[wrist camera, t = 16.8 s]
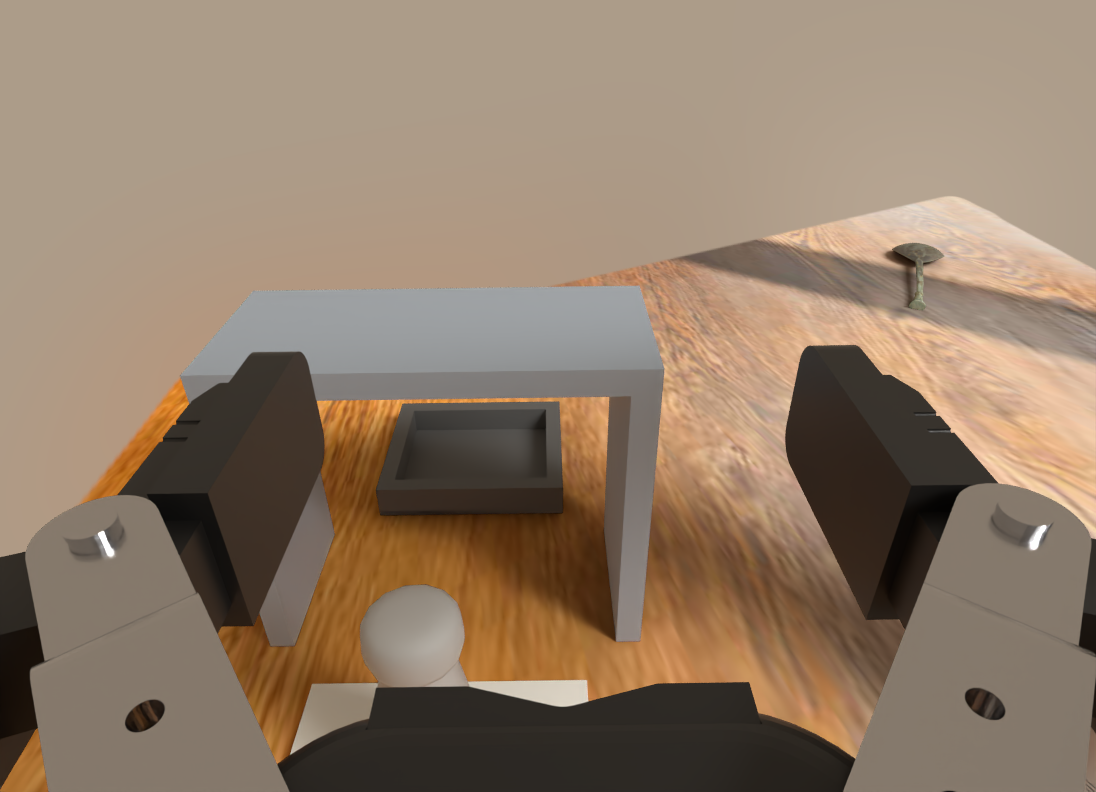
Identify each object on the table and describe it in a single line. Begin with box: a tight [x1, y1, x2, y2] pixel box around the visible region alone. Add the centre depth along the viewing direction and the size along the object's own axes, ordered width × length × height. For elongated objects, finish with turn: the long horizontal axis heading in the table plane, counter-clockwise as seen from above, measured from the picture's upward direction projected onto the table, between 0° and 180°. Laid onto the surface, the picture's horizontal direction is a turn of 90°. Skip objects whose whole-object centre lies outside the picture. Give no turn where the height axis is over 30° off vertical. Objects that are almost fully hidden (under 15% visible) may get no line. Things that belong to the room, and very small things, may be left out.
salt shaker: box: [360, 584, 470, 688], centre depth 32 cm, size 6×6×13 cm
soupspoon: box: [892, 243, 944, 310], centre depth 92 cm, size 22×3×6 cm
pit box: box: [376, 402, 563, 515], centre depth 58 cm, size 14×12×2 cm
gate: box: [180, 286, 664, 646], centre depth 43 cm, size 23×10×20 cm, turn 90°
